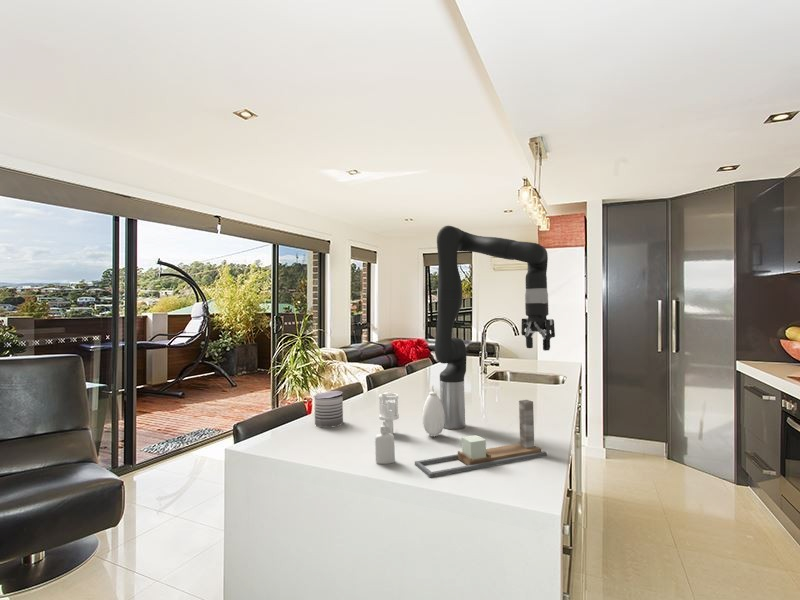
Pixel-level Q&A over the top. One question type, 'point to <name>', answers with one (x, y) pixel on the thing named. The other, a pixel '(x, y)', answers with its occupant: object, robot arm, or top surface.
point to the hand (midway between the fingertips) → (537, 349)
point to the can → (328, 409)
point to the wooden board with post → (513, 450)
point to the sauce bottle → (433, 415)
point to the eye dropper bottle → (384, 446)
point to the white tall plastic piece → (389, 409)
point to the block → (474, 447)
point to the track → (469, 467)
